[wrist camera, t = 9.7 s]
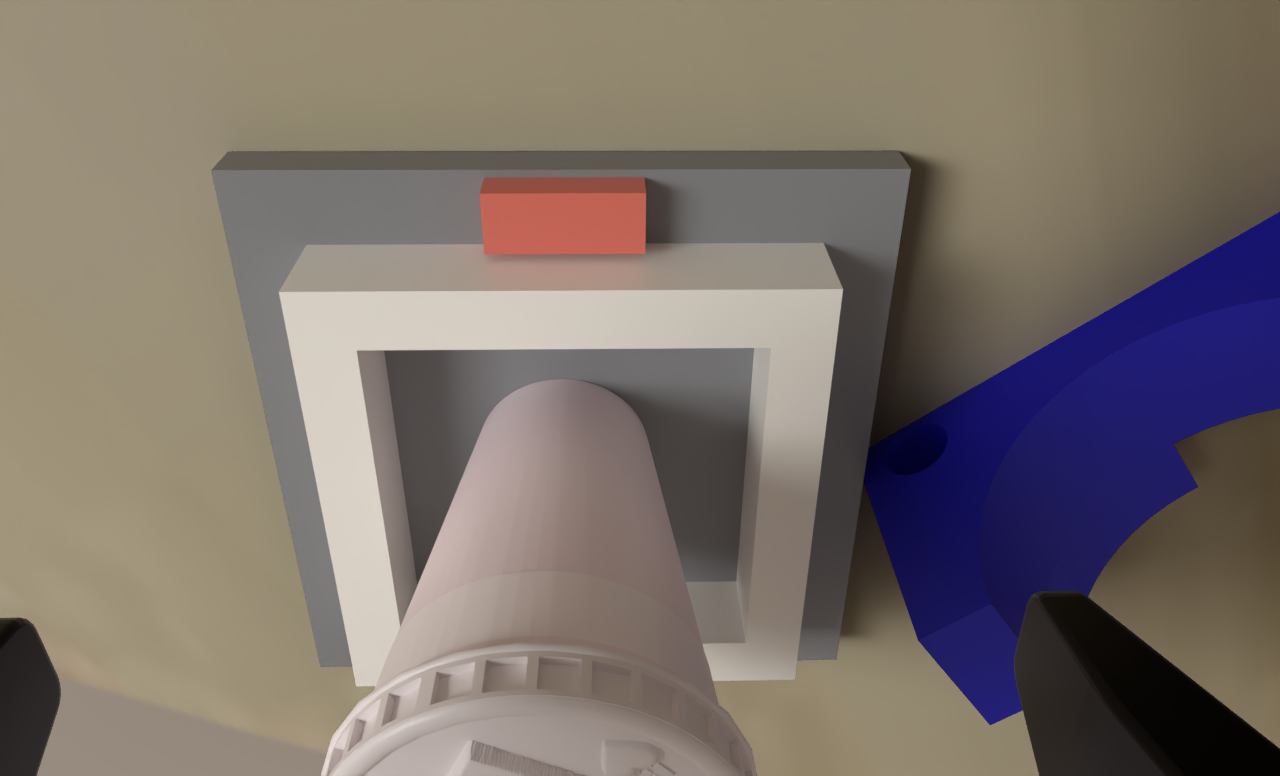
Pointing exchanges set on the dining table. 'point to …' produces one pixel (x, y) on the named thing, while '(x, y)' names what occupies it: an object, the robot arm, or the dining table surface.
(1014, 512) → the cable clip
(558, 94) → the dining table surface
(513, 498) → the smoothie
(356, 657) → the socket plate
